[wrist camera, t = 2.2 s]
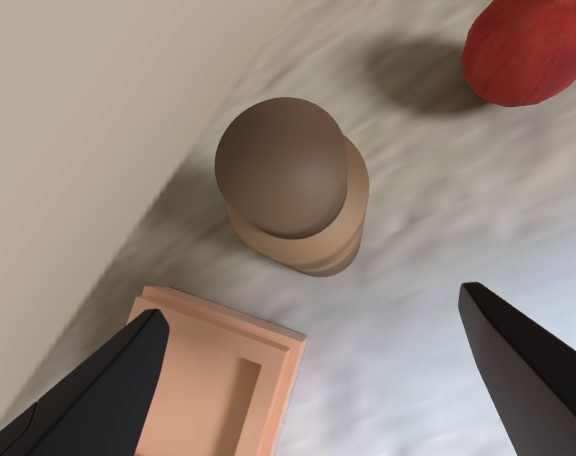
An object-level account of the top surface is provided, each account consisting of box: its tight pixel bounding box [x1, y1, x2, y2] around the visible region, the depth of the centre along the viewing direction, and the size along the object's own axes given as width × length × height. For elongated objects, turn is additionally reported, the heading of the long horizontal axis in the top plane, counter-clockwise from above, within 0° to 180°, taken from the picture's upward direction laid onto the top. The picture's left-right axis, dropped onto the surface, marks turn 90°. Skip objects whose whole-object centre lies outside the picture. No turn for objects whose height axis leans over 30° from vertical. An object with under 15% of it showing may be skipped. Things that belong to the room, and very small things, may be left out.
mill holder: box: [126, 286, 308, 456], centre depth 18 cm, size 10×10×4 cm
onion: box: [461, 0, 576, 107], centre depth 17 cm, size 6×6×8 cm
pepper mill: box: [215, 97, 369, 277], centre depth 15 cm, size 5×5×12 cm
